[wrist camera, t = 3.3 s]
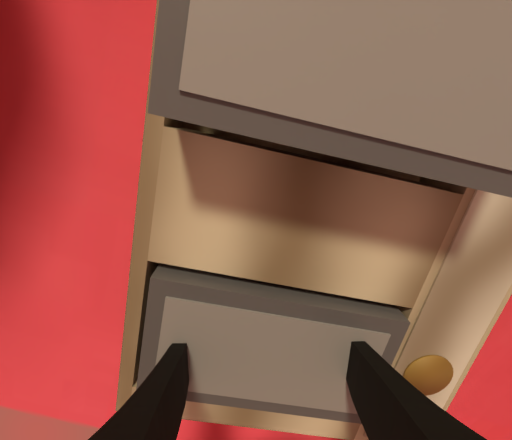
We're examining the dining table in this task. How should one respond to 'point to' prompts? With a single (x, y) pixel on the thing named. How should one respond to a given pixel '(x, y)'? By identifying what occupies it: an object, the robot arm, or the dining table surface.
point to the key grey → (348, 80)
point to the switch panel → (319, 249)
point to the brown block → (264, 341)
